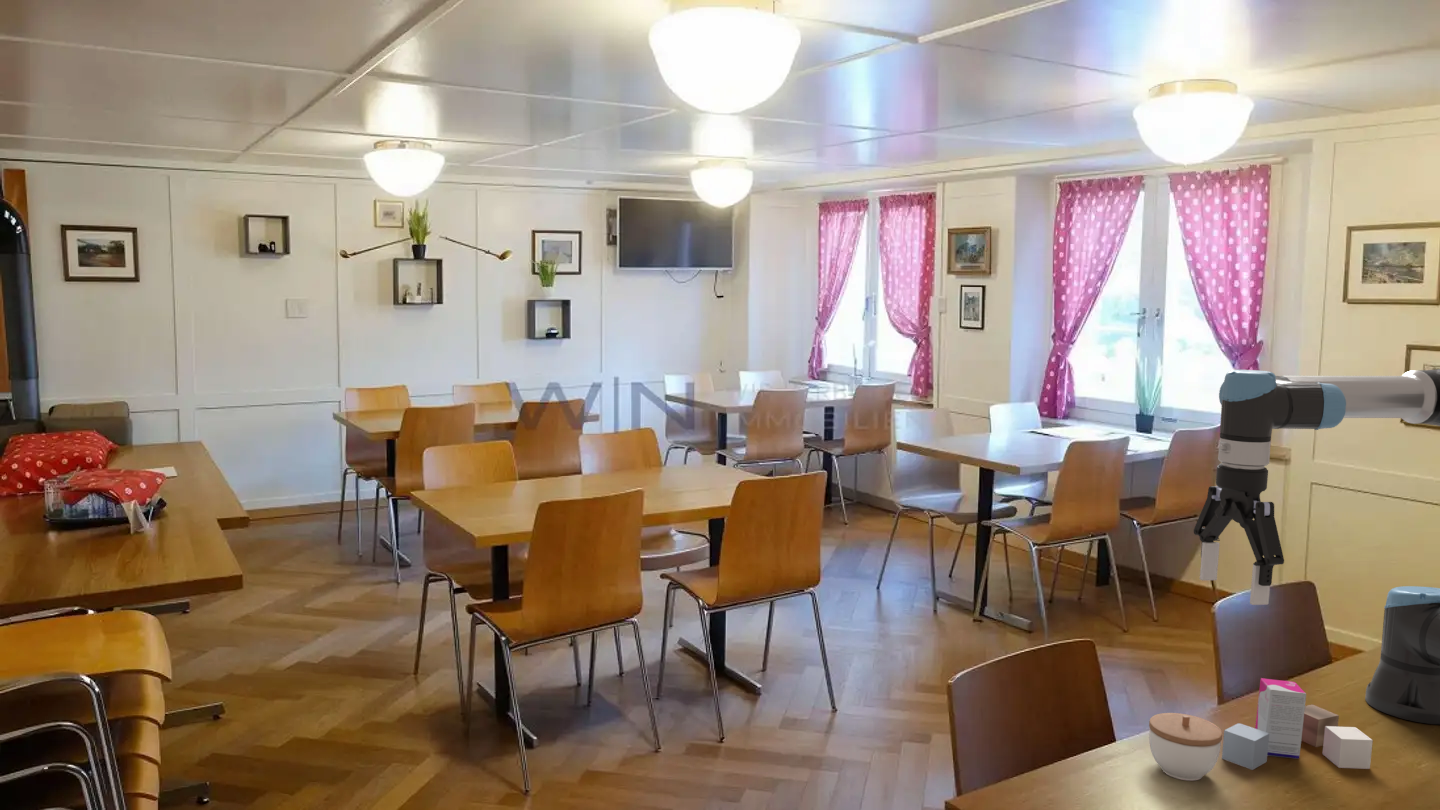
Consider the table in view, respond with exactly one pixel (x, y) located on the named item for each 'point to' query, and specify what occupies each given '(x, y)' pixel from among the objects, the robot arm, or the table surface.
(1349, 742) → the off-white cube
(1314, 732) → the walnut cube
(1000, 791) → the table surface
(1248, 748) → the slate-blue cube
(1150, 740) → the lidded jar
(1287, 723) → the supplement box
